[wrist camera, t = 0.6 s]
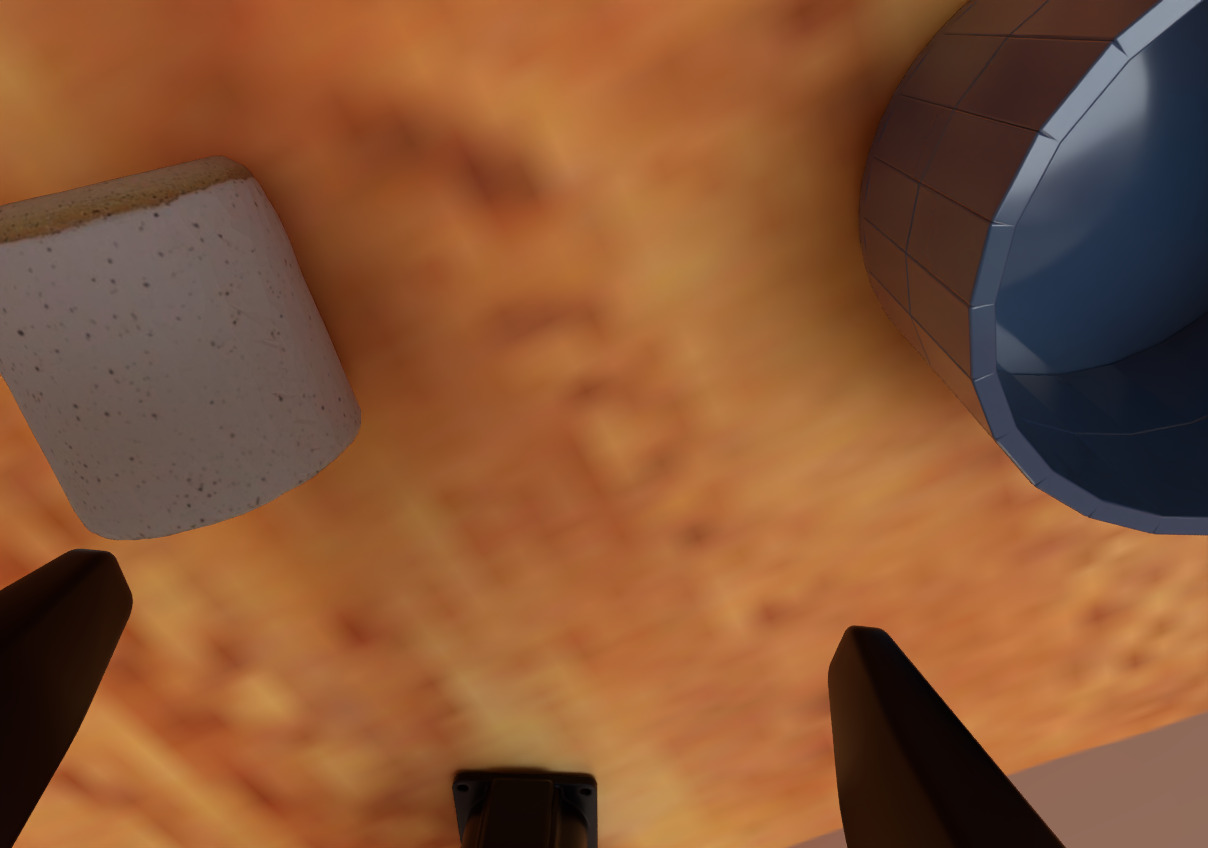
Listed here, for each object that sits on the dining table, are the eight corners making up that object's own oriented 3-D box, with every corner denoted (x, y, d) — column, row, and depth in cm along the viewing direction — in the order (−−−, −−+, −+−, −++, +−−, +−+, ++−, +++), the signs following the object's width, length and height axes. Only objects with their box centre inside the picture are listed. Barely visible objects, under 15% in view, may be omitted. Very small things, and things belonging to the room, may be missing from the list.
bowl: (1216, 383, 23) (1472, 542, 16) (829, 377, 23) (913, 529, 16) (1420, -79, 17) (1960, -149, 10) (902, -77, 18) (1080, -142, 11)
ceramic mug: (292, 125, 20) (115, 177, 13) (398, 387, 24) (300, 529, 17) (-30, 210, 22) (-331, 293, 15) (116, 442, 26) (-73, 592, 19)
